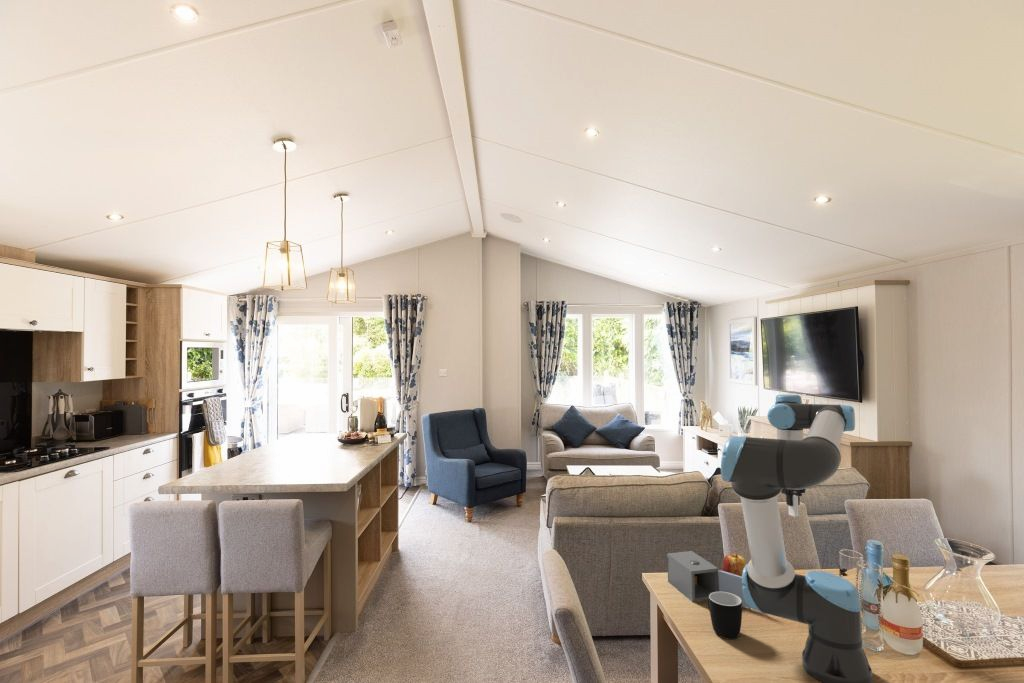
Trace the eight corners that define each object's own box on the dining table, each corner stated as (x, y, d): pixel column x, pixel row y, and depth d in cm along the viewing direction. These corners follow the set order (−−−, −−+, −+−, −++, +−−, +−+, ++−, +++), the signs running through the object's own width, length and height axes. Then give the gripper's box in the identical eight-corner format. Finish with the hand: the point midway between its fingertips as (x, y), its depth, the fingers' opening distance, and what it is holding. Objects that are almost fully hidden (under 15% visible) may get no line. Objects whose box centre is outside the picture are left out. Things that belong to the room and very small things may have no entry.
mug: (750, 639, 143) (748, 603, 144) (723, 644, 141) (722, 607, 141) (722, 618, 155) (720, 585, 155) (697, 623, 153) (696, 589, 153)
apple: (722, 576, 185) (721, 548, 186) (748, 579, 182) (747, 551, 182) (723, 586, 177) (722, 557, 177) (751, 590, 174) (750, 560, 174)
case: (719, 598, 168) (718, 567, 168) (692, 602, 166) (691, 570, 166) (692, 578, 184) (691, 550, 184) (667, 581, 182) (666, 553, 182)
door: (720, 596, 168) (719, 569, 169) (752, 607, 161) (751, 578, 161) (718, 597, 167) (717, 570, 168) (750, 608, 160) (749, 580, 160)
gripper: (798, 439, 167) (802, 510, 166) (764, 441, 165) (767, 513, 164) (816, 442, 160) (820, 517, 159) (781, 445, 157) (784, 520, 156)
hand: (793, 515), depth 161 cm, fingers closed
